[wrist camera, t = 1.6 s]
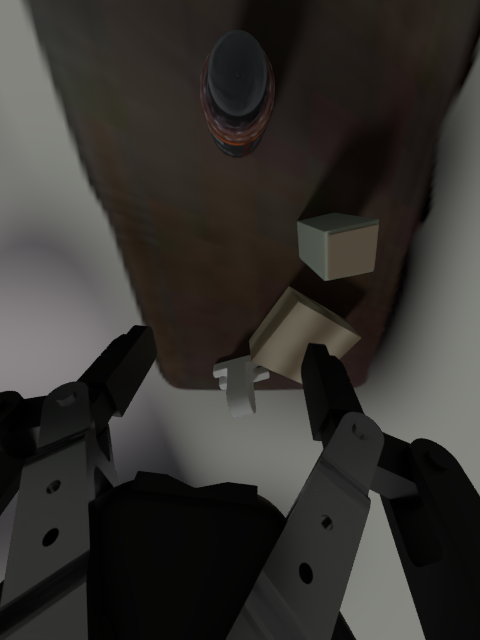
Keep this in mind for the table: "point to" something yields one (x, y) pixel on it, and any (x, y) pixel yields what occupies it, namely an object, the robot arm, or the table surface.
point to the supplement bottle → (237, 92)
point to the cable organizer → (240, 383)
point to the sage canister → (338, 244)
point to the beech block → (298, 334)
